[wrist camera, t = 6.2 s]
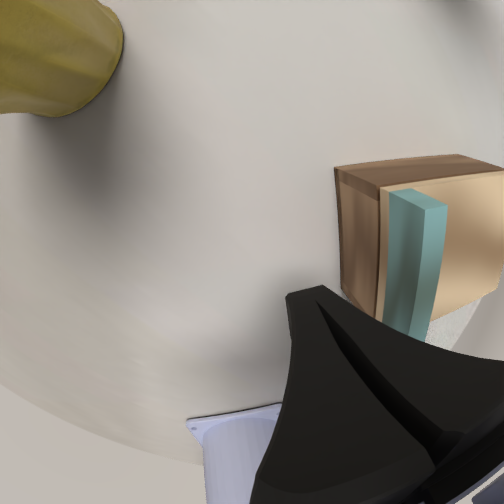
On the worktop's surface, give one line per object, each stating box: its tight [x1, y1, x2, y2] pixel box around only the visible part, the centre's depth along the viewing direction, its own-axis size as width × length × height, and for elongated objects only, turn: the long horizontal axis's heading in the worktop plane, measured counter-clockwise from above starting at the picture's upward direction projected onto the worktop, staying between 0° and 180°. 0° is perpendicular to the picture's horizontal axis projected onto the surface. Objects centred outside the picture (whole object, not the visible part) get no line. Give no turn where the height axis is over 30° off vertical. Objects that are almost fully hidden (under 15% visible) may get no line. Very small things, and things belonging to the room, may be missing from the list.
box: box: [334, 154, 504, 318], centre depth 13 cm, size 7×9×4 cm
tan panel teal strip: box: [375, 171, 504, 342], centre depth 10 cm, size 7×9×3 cm
